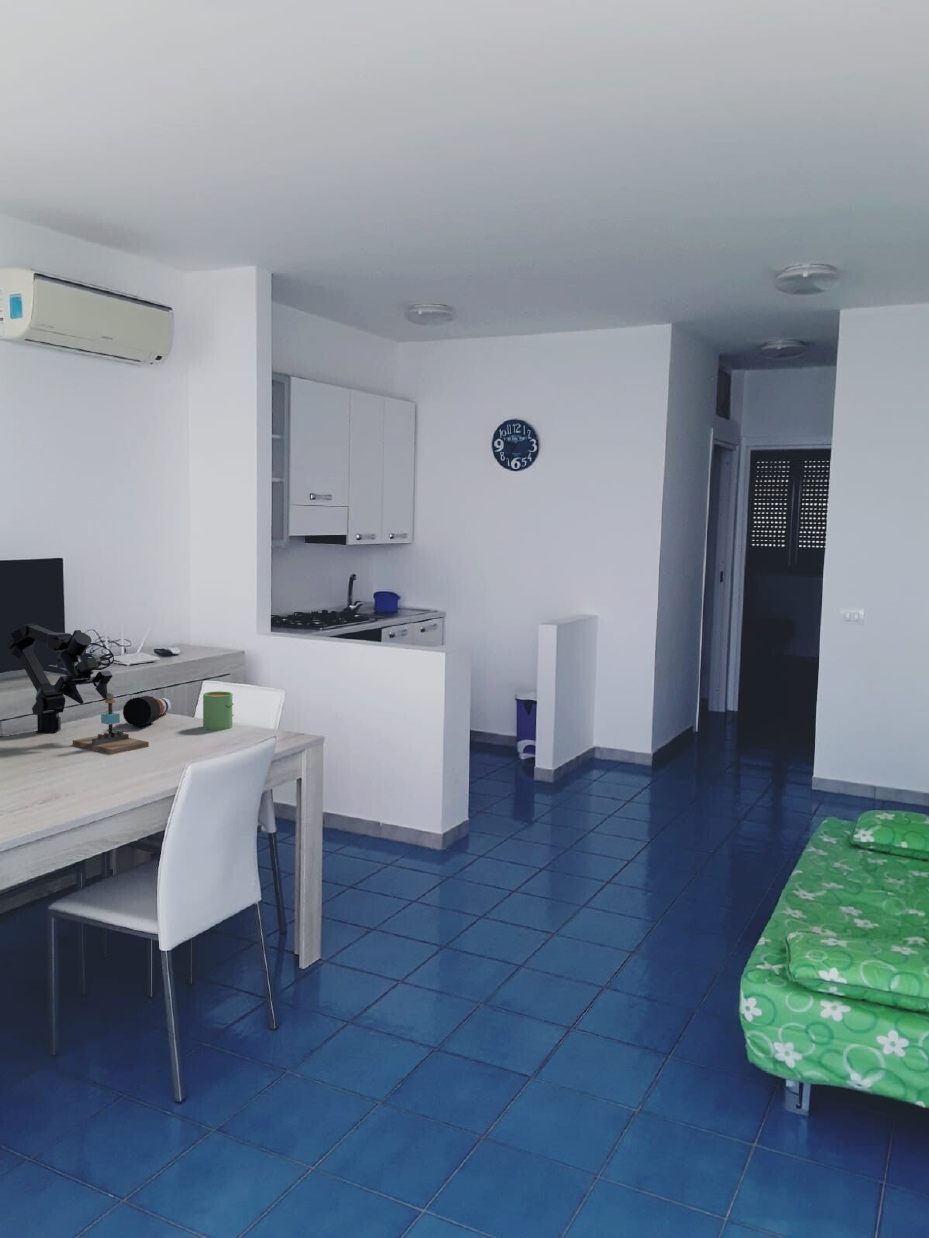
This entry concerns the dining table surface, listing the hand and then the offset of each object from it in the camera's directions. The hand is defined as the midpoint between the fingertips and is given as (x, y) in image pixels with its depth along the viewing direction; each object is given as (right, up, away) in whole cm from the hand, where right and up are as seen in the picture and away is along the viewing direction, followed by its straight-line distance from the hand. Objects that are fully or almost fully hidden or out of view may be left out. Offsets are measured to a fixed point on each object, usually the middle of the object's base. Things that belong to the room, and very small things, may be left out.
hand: (94, 701), depth 324 cm
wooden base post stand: (+6, -14, -3) cm, 16 cm away
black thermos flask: (+6, -10, +41) cm, 43 cm away
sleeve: (+6, -7, -4) cm, 10 cm away
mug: (+33, -12, +31) cm, 47 cm away
